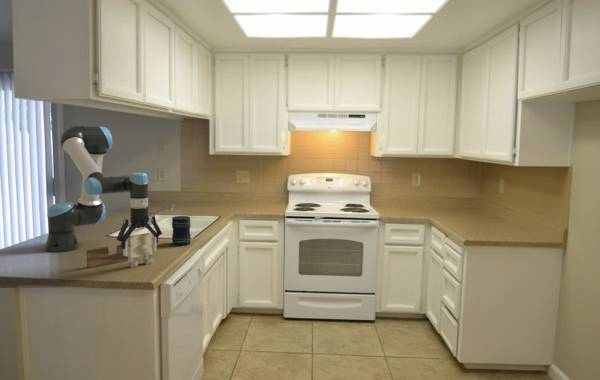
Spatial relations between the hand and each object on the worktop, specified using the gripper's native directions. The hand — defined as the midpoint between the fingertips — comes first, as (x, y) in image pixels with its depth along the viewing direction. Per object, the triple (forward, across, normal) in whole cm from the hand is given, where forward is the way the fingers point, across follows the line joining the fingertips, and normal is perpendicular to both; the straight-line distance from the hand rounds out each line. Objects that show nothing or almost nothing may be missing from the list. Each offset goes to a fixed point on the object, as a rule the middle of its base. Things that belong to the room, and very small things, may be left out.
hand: (140, 253), depth 187 cm
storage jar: (+6, +34, +22) cm, 40 cm away
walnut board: (+6, -8, +11) cm, 15 cm away
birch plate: (+6, 0, 0) cm, 6 cm away
